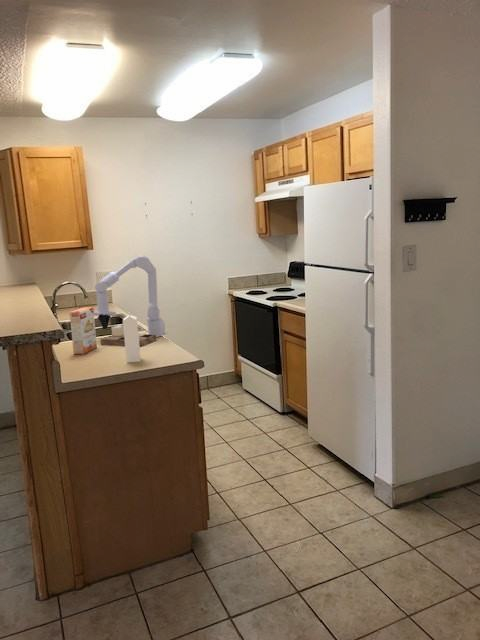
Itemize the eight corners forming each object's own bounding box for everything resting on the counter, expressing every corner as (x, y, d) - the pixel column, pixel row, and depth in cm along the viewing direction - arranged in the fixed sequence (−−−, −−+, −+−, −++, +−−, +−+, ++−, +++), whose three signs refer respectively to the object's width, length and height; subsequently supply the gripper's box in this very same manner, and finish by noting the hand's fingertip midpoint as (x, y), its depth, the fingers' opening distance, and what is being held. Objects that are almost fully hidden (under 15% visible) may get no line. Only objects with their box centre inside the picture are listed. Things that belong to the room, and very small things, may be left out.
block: (117, 333, 286) (116, 325, 285) (124, 334, 284) (123, 325, 283) (112, 335, 282) (111, 327, 281) (119, 335, 280) (118, 327, 279)
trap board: (118, 338, 288) (118, 333, 288) (156, 340, 278) (155, 334, 278) (101, 344, 275) (100, 339, 274) (140, 346, 265) (139, 340, 264)
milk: (140, 358, 241) (136, 310, 238) (140, 361, 236) (136, 312, 232) (127, 359, 241) (122, 311, 237) (126, 362, 235) (121, 313, 231)
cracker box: (84, 354, 255) (80, 311, 251) (73, 354, 256) (68, 311, 253) (98, 347, 269) (93, 306, 265) (87, 347, 270) (82, 307, 266)
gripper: (87, 304, 282) (89, 329, 285) (109, 305, 276) (111, 330, 279) (95, 302, 289) (98, 327, 291) (117, 303, 283) (119, 328, 285)
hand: (105, 328), depth 285 cm, fingers closed
